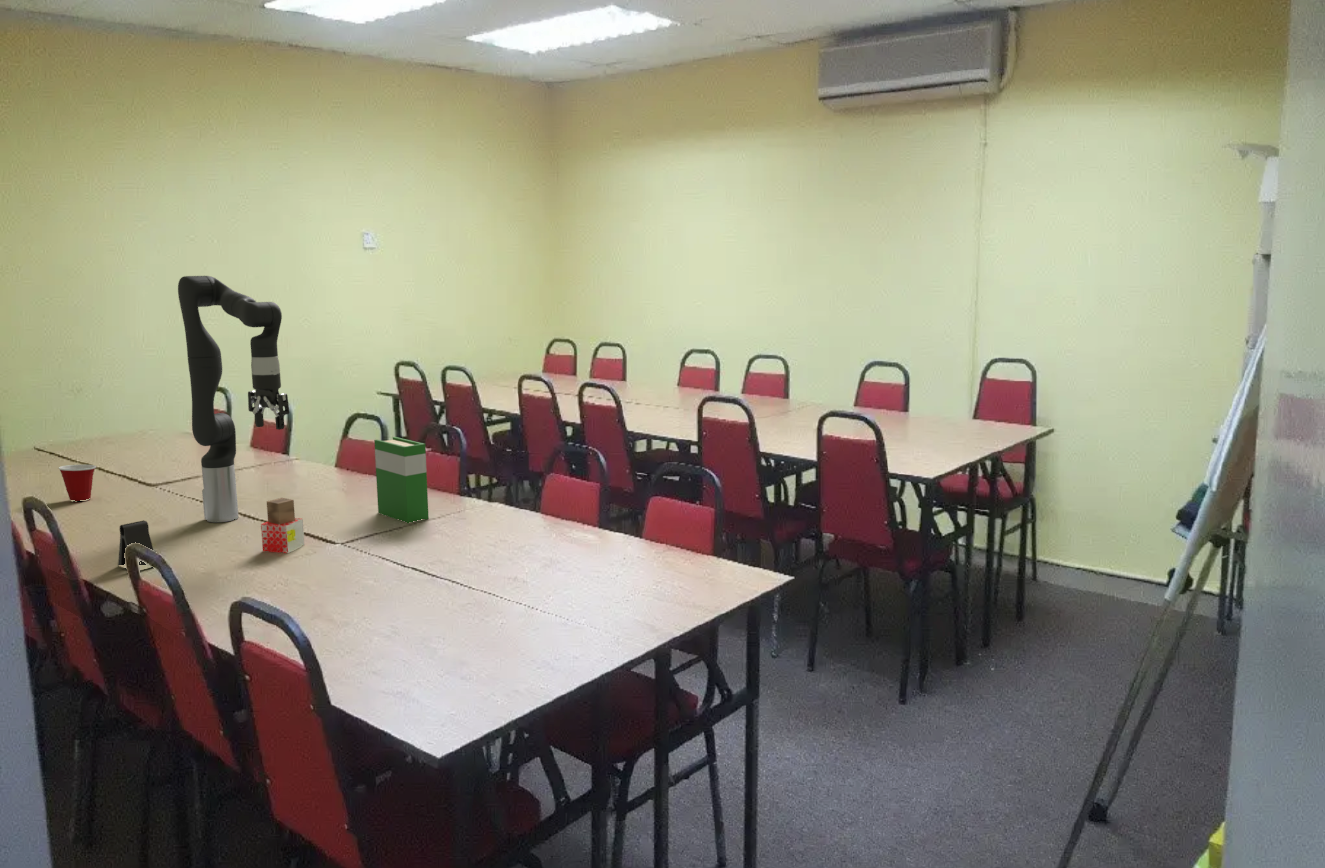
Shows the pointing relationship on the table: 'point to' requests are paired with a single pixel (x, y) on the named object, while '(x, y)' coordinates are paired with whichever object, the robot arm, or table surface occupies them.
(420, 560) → the table surface
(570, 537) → the table surface
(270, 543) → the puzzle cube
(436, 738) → the table surface
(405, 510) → the hardback book
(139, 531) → the black tent stand
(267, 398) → the robot arm
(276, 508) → the walnut block
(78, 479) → the plastic cup
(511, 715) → the table surface
